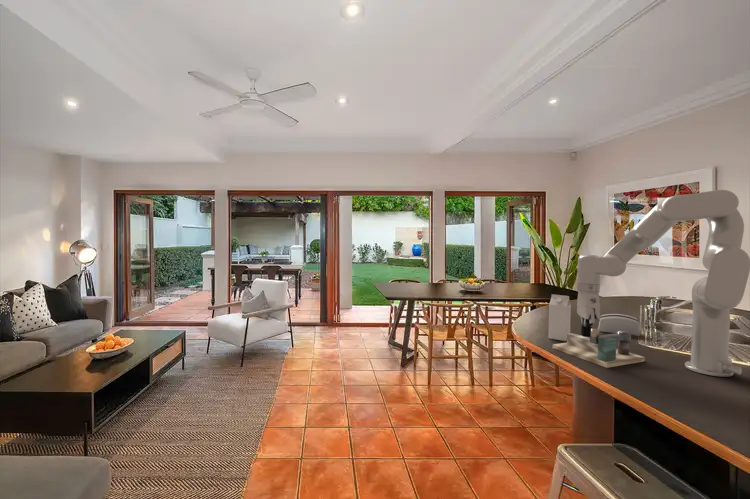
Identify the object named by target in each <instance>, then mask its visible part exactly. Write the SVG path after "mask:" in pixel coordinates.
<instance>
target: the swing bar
mask: <svg viewBox="0 0 750 499" xmlns="http://www.w3.org/2000/svg"><path fill="white" fill-rule="evenodd" d="M605 337H610V338H614V339H616V342H618V341H624V342H629V343H630V342H631V341H632V335H631V332H628V331H617V333H606V334H602V335H601V334H600V331H599V329H598V328H595V327H592V328H591V337H589V338H590V343H594V344H598V338H605Z"/></svg>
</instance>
